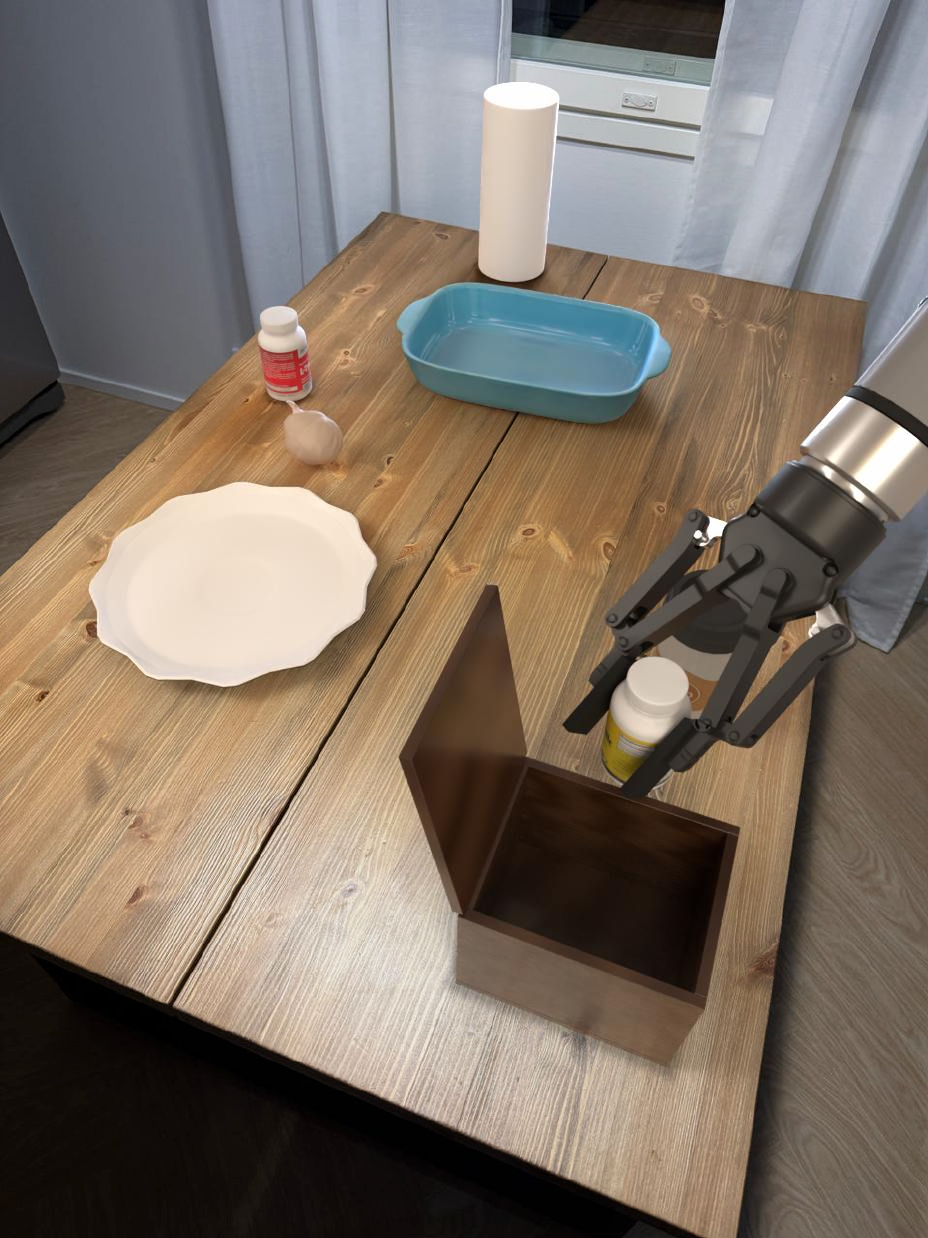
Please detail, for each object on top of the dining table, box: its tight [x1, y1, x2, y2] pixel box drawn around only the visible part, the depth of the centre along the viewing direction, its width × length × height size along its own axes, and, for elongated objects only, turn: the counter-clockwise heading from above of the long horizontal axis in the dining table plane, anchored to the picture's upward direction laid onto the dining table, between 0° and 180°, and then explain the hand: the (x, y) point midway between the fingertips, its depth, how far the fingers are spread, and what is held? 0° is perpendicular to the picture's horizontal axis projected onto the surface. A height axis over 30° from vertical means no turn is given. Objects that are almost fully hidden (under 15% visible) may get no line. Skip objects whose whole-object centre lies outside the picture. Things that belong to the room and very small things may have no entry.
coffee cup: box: [654, 568, 748, 719], centre depth 81 cm, size 8×8×15 cm
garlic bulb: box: [282, 400, 344, 466], centre depth 108 cm, size 7×6×8 cm
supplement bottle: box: [599, 655, 692, 791], centre depth 61 cm, size 5×5×10 cm
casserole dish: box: [396, 282, 672, 425], centre depth 120 cm, size 37×22×7 cm, turn 72°
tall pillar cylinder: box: [477, 81, 560, 283], centre depth 135 cm, size 11×11×25 cm
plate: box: [88, 481, 378, 689], centre depth 95 cm, size 29×29×2 cm
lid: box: [397, 583, 528, 915], centre depth 57 cm, size 18×14×1 cm
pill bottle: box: [257, 305, 313, 402], centre depth 116 cm, size 6×6×11 cm
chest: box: [455, 755, 741, 1068], centre depth 67 cm, size 17×14×13 cm
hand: (602, 760), depth 61 cm, fingers closed on supplement bottle, 5 cm apart
